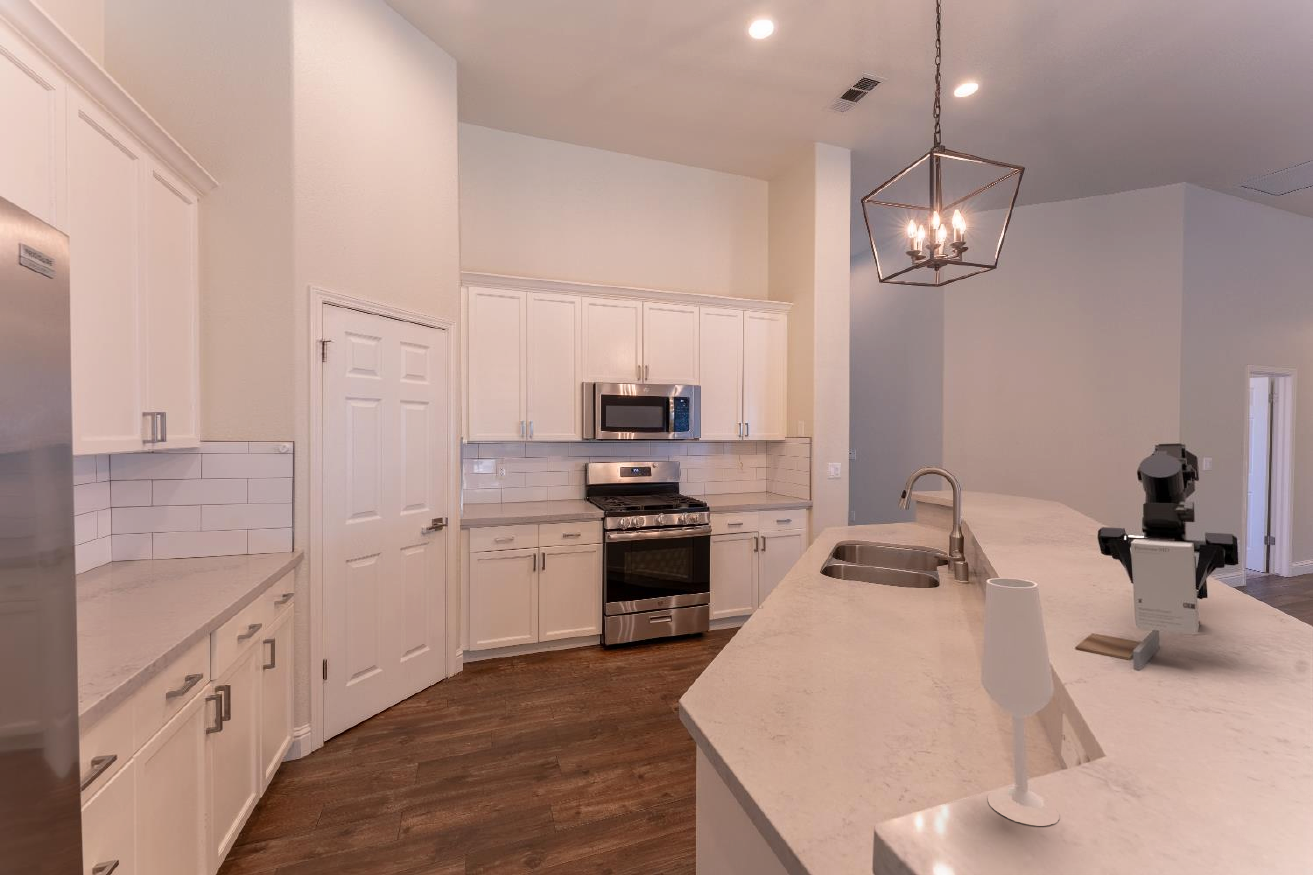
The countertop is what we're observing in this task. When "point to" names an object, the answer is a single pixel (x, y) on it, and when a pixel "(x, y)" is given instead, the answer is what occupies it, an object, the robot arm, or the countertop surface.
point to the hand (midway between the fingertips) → (1163, 585)
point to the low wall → (1146, 649)
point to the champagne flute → (1016, 665)
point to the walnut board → (1108, 646)
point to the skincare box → (1165, 586)
